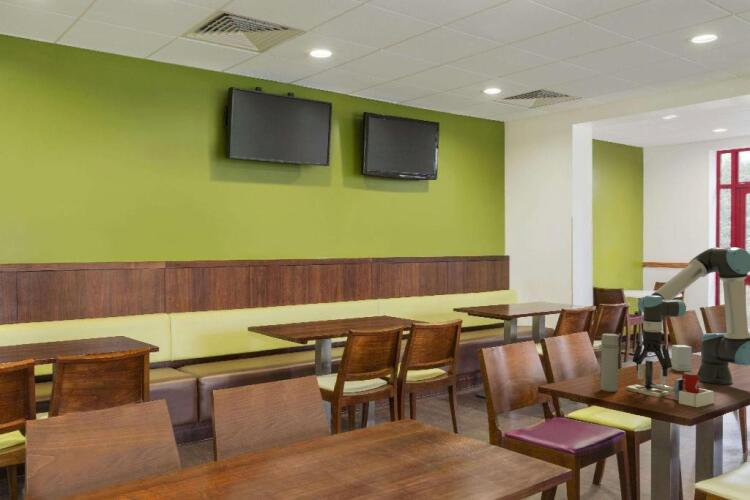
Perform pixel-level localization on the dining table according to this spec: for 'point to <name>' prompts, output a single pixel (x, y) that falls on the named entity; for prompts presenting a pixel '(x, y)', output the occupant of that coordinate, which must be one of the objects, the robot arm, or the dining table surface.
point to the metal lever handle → (649, 384)
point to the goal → (696, 398)
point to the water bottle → (609, 362)
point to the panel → (647, 390)
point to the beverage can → (690, 382)
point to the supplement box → (681, 357)
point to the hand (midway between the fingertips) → (651, 381)
